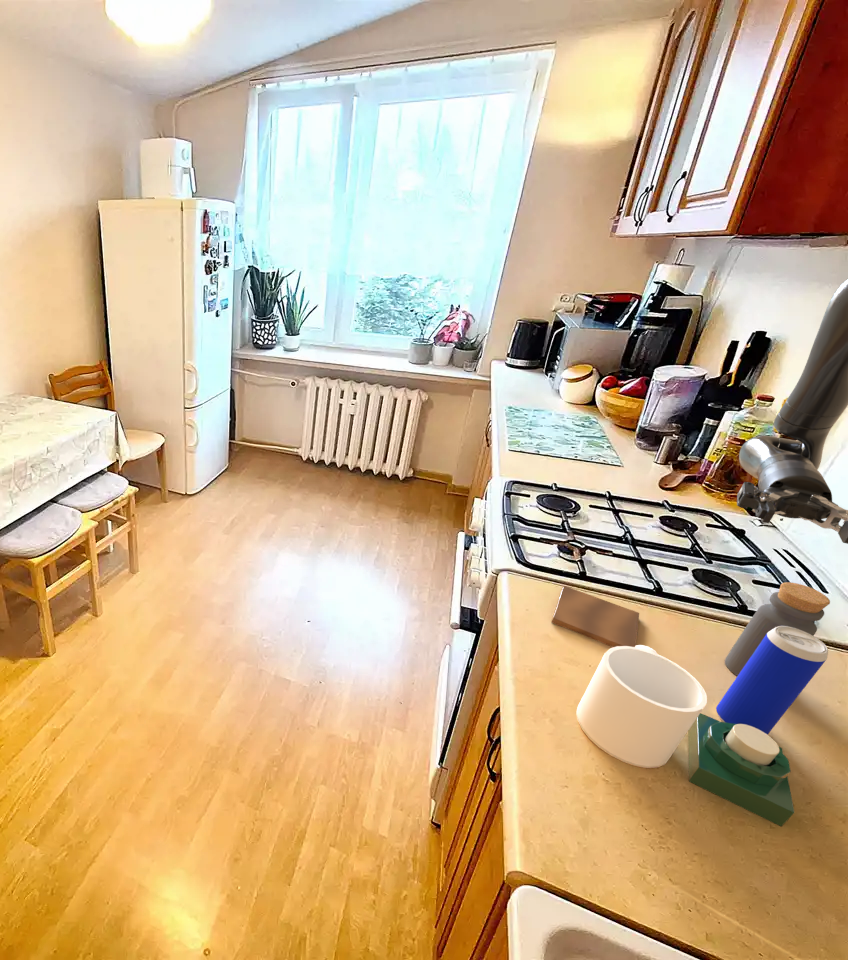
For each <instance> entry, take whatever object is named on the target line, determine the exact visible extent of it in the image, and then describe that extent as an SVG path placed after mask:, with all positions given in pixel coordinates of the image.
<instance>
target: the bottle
mask: <svg viewBox="0 0 848 960" xmlns="http://www.w3.org/2000/svg"><path fill="white" fill-rule="evenodd" d="M769 602H770V603H765V604H762V605H760V606H759V607H758V608H757V609H756V611H755V613H753V615H752V617H751V618H750V620H749V622H748V623H747V625H746V626H745V627H744V629H743V630H742V632H741V634H740V635H739V637H738V638H737V639H736V641H735V643H734V644H733V645H732V647H731V649H730V651H729V652H728V654H727V655H726V656H725V658H724V665H725V667H726V669H728V670H729V671H730V673H732V674H734V675H735V676H736V677H737V676H738V675H739V673H740V672H741V670H742V669H743V668H744V666H745V665H746V663H747V662H748V660H749V659H750V657H751V656H752V654H753V653H754V652H755V650H756V649H757V647H758V646H759V644H760V643H761V641H762V640H763V639H764V637H765V636H766V634H767V633H768V632H769V631H770V630H772V629H774V628H775V627H778V626H787V627H792V628H796V629H799V630H802V631H804V632H806V633H808V634H810V635H812V636H814V637H815V634H817V631H818V626H817V625H816V623H815V622H818V621H820V620H822V618H823V617H824V616H825V610H824V609H825V608H826V607H827V606H829V605H830V604H831V600H830V599H829V597H827V596H826V595H825V594H824V593H822V592H821V591H819V590H816V589H814V588H812V587H811V586H808V585H804V584H800V583H796V582H789V581H788V582H787V581H786V582H782V583H781V584H780V586H779V590H778V591H774V592H772V594H771V595H770V597H769Z"/></svg>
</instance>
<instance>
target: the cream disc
mask: <svg viewBox="0 0 848 960" xmlns="http://www.w3.org/2000/svg"><path fill="white" fill-rule="evenodd" d="M725 742H726V744H727V745H728V746H729V747H730V749H731V750H733V751H734V752H735V753H737V754H738V755H739V756H741V757H742V758H744V759H746V760H748V761H750V762H752V763H755V764H757V765H762V766H766V765H769V764H770V763H771V762H772V761H773V759H774V758H775V757H776V756H777V755H778V753H779V751H780V750H779V747H780V746H779V744H778V743H777V742H776V741H775V740H774V739H773V738H772V737H771V736H770V735H769V734H768V735H767V734H766V733H764V732H762V731H761V730H759V729H757V728H755V727H752V726H749V725H745V724H736V725H734V726H733V728H732V729H731V730H730V732H729V733H728V734H727V736H726V737H725Z"/></svg>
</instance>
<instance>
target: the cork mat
mask: <svg viewBox="0 0 848 960" xmlns="http://www.w3.org/2000/svg"><path fill="white" fill-rule="evenodd" d="M639 619H640V612H638V611H635V610H633V609H629V608H627V607H624V606H621V605H618V604H616V603H613V602H610V601H608V600H605V599H603V598H599V597H597V596H594V595H591V594H589V593H586V592H583V591H581V590H577V589H575V588H571V587H569V586H566V585H563V586H562V588H561V591H560V594H559V597H558V600H557V603H556V606H555V610H554V613H553V615H552V619H551V624H554V625H557V626H560V627H563V628H564V629H567V630H569V631H572V632H574V633H577V634H580V635H582V636H584V637H587V638H589V639H591V640H593V641H594V640H595V641H596V642H599V643H602V644H604V645H607V646H609V647H611V648H613V647H616V646H630V647H635V646H636V645H637V639H638V638H637V637H638V630H639Z"/></svg>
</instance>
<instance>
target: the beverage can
mask: <svg viewBox="0 0 848 960" xmlns="http://www.w3.org/2000/svg"><path fill="white" fill-rule="evenodd" d="M828 655H829V649H828V647H827V645H826V644H825V643H824V642H823V641H822V640H820V639H819V638H818V637H816V636H815V635H814V636H812V635H810V634H808V633H806V632H804V631H802V630H799V629H796V628H792V627H787V626H778V627H775V628H774V629H772V630H770V631H769V632H768V633H767V634H766V636H765V637H764V639H763V640H762V641H761V643H760V644H759V646H758V647H757V649H756V650H755V652H754V653H753V654H752V656H751V657H750V659H749V660H748V662H747V663H746V665H745V666H744V668H743V669H742V670H741V672H740V673H739V675H738V676H737V675H736V677H735V679H734V680H733V682H732V683H731V685H730V686H729V688H728V689H727V691H726V692H725V693H724V695H723V696H722V698H721V699H720V701H719V703H718V704H717V705H716V707H715V709H716V714H717V716H718V718H719V719H720V722H727V723H734V724H745V725H749V726H752V727H755V728H757V729H759V730H761V731H762V732H764V733H766V734H767V735H768V736H769V734H770V732H772V730H773V729H774V727H775V726H776V725H777V723H778V722H779V721H780V720H781V718H783V716H784V714H785V713H786V712H787V711H788V709H790V707H791V705H792V704H793V703H794V702H795V701H796V699H797V698H798V697H799V695H800V694H801V693H802V692H803V690H804V689H805V688H806V687H807V685H808V684H809V683H810V682H811V680H812V679H813V678H814V677H815V675H816V674H817V673H818V671H819V670H820V669H821V668H822V667H823V665H824V664H825V662H827V660H828Z"/></svg>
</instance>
